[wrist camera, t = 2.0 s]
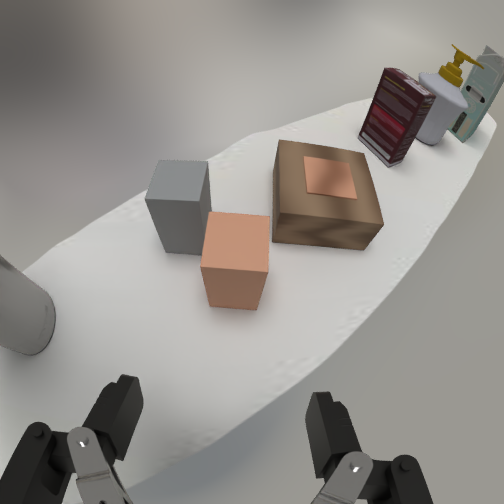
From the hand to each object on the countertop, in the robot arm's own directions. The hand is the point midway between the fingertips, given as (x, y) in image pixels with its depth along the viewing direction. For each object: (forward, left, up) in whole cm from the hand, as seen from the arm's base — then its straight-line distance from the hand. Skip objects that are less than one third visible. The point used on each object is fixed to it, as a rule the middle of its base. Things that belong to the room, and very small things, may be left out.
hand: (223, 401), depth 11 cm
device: (+60, +63, -16) cm, 89 cm away
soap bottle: (+39, +51, -16) cm, 66 cm away
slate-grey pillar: (-6, +18, -15) cm, 24 cm away
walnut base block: (+10, +24, -15) cm, 30 cm away
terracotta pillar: (0, +12, -15) cm, 19 cm away
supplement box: (+24, +40, -16) cm, 49 cm away
